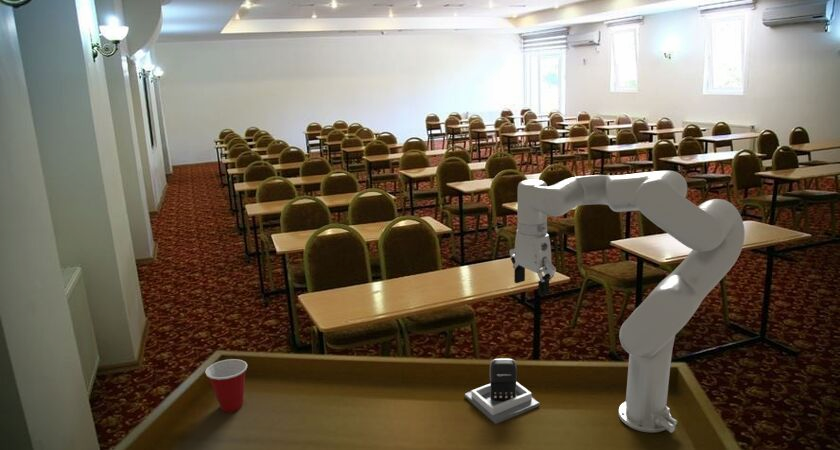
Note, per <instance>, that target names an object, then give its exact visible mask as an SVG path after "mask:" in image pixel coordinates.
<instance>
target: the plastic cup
mask: <svg viewBox="0 0 840 450" xmlns="http://www.w3.org/2000/svg"><path fill="white" fill-rule="evenodd" d="M247 368H248V363H247V362H246V361H244V360H242V359H235V358H229V359H223V360H219V361H217V362H214V363H212V364H210V365H209V366H207V367H206V369H205V375H206V377H208V380H209V381H210V384H211V386H212V388H213V392H214V394H215V397H216V400H217V401H218V404H219V408H220V409H221V410H222V411H223V412H225V413H233V412H236V411H238V410H240V409H241V408H243V404H244V394H245V381H246V380H245V376H246V371H247Z"/></svg>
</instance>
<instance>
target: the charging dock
mask: <svg viewBox="0 0 840 450" xmlns="http://www.w3.org/2000/svg"><path fill="white" fill-rule="evenodd" d="M490 393H491V385H490V383H488V384H485V385H482V386H480V387H477V388H475V389H472V390H470V391H468V392H466V393H464V398H466V399H467V401H469V402H470V403H471V404H472V405H473V406H474V407H475V408H477V410H479V411H480V412H481V413H482V414H484V415H485V416H486V417H487V418H488V419H489V420H490V421H491V422H492V423H493V424H495V425H497V424H500V423H502V422H504V421H507V420H509V419H511V418H513V417H516V416H519V415H521V414H523V413H527V412H528V411H531V410H533V409H535V408H537V407H540V402H539V401H537V400H536V399H535V398H534V397H533V395H532V394H533V393H532V392H531V391H530V390H528V389H527V388H526V387H525V386H523V385H521V384H520V382H518V381H516V397H515V398H512V399H510V400H507V401H494V400H492V399H491V396H490Z"/></svg>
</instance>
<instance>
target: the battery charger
mask: <svg viewBox="0 0 840 450" xmlns="http://www.w3.org/2000/svg"><path fill="white" fill-rule="evenodd" d="M517 371H518V369H517V363H516V360H515V359H513V358H509V357H507V358H504V357H501V358H500V357H499V358H494V359H491V361H490V364H489V382H490V383H489V384H490V385H491V393H490V396H491V399H492V400H494V401H507V400H510V399H512V398H515V397H516V382H518V381H517V380H518V379H517V378H518V374H517V373H518V372H517Z"/></svg>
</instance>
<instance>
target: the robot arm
mask: <svg viewBox="0 0 840 450" xmlns="http://www.w3.org/2000/svg"><path fill="white" fill-rule="evenodd" d="M687 194H688V183H687V181H686V178H685V177H684V176H683V175H682V174H681V173H679V172H677V171H675V170H655V171H647V172H645V171H644V172H639V173H631V174H629V173H627V174H620V175H619V174H618V175H617V174H615V175H610V174H608V175H607V174H606V175H604V174H594V175H592V174H591V175H583V176H574V177H569V178H565V179H563V180H561V181H558V182H556V183H554V184H552V185H549V186H548V184H547V182H545V181H544V180H541V179H538V178H537V179H534V178H530V179H523V180H522V181H519V182H518V185H517V223H516V224H517V228H516V233H515V238H514V239H515V241H514V248H511V249H510V250H508V251H509V255H510V260H511V263H512V264H513V265H512V269H514V273H513V274H514V281H513V282H514V283H515V284H520V283H521V282H525V280H526V270H529V271H531V272H533V273H535V274H537V277H538V278H539V280H538V284H537V285H538V287H537V288H538V289H537V291H538V292H537V293H538V294H537V295H538V296H544V295H547V294H549V293H550V281H551V280H552V278H554V276H555V275H554V274H555V273H556V271H557V268H556V266H554V264H553V263H552V247H551V240H550V235H549V234H548V216H550V217H555V218H556V217H562V216H563V215H565V214H567V213H569V212H570V211H571V210H573V209H574V208H577V207H579V206H586V205H587V206H589V205H605V206H608V207H609V208H610V210H612V211H613V212H616V213H621V212H622V213H623V212H631V211H632V212H634V211H635V212H636V211H638V212H640V213H641V214H642V215H643V216H644V217H646V218H647V219H648V220H649V221H650V222H652V223H653V224H654V225H656V227H658V228H660V229H661V230H662V231H664V232H665V233H667V234H668V235H669V236H671V237H672V238H673V239H675V240H676V241H678V242H679V243H680V244H682V245H683V246H685V247H686V248H688V249H690V250H691V251H690V252H689V253H688V254H687V255H686V257H685V259H683V261H682V262H681V263H680V264H679V265H678V266H677V267H676V268H675V269H674V270H673V271H672V272H670V273H669V275H667V276H666V277H665V278H664V279H662V280H661V281H660V282H659V283H658V284H657V285H656V287H654V289H653V290H651V292H650V293H649V294H648V295H647V297H645V299H644V300H643V301H642V302H641V303H640V304H639V305H638V307H636V308H635V309H634V310H633V312H632V313H631V314H630V315H629V317H627V318H626V320H625V321H624V322H623V323H622V325H621V326H620V329H619V335H618V337H619V338H618V339H619V341H620V344H621V347H622V348H623V350H624V351H625V352H626V353H627V354H629V355H628V367H627V369H628V370H627V382H626V393H625V401H624V402H622V403H621V404H620V405H619V408H618V418H619V419H620V420H621V422H623V423H624V424H625V425H626V426H628V427H629V428H631V429H633V430H636V431H639V432H644V433H650V434H651V433H660V432H663V431H668V432H669V433H671V434H673V433H674V431H675V430H676V426H677V424H678V420H677V419H675V418H674V417H672V415H671V412H670V410H671V408H670V407H668V406H667V403H668V402H667V401H668V393H669V383H670V382H669V381H670V372H671V364H672V355H673V347H674V343H675V339H676V336H677V334H678V333H679V332H680V331H681V330H682V329H683V328H684V327H685V326H686V325H687V323H688V322H689V320H690V319H691V318H692V317H693V316H694V314H695V313H696V311H697V310H698V309H699V307H700V305H701V304H702V302H703V300H704V299H705V298H706V297H707V296H708V295H709V293H710V292H712V290H713V289H714V288H715V287H716V286H717V285H718V284H719V283H720V281H721V280H722V279H723V278H724V277H725V276H726V275H727V274H728V273H729V271H730V270H731V269H732V267H734V265H735V264H736V262H737V261H738V258H739V256H740V255H741V252H742V250H743V247H744V242H745V235H746V234H745V232H746V231H745V225H744V222H743V218H742V216H741V214H740V212H739V211H738V208H737V207H736V206H735V205H734V204H733V203H731V202H730V201H728V200H726V199H721V198H720V199H719V198H714V199H709V200H706V201H704V202H702V203H701V204H699V205H696V204H695V203H693V201H690V199H688V198H686V197H687ZM543 273H544V275H543Z"/></svg>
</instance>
